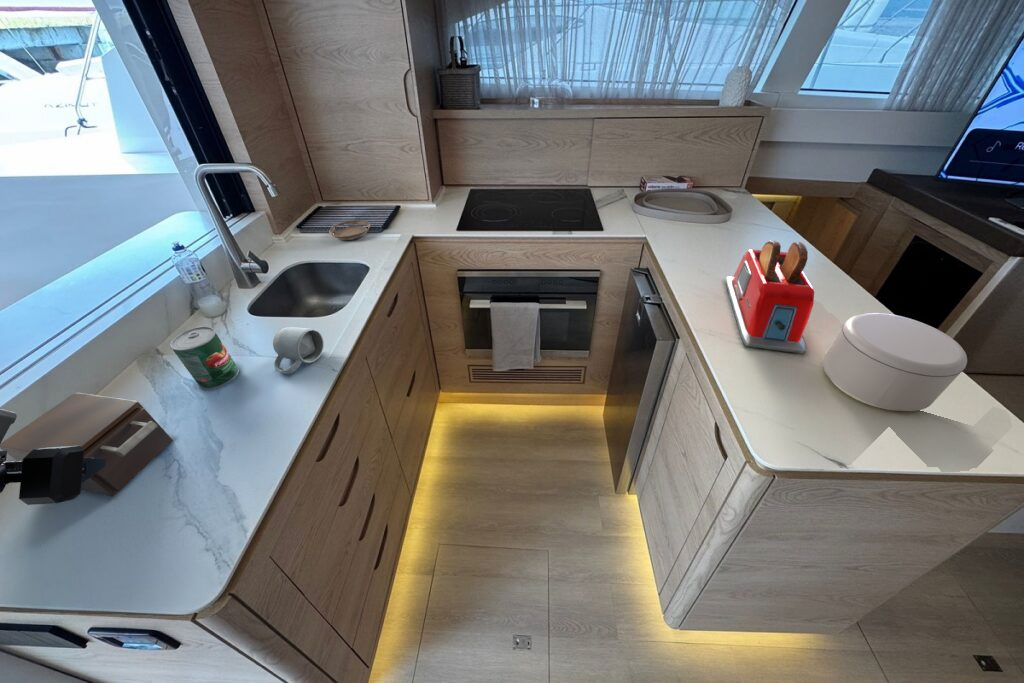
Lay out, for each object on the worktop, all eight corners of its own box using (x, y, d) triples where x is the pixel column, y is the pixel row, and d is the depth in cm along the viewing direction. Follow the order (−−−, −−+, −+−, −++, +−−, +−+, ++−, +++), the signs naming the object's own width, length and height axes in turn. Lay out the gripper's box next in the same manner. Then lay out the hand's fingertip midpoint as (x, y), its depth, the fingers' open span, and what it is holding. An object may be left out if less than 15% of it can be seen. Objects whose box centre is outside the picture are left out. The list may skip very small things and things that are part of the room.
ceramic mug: (300, 343, 96) (287, 318, 91) (328, 348, 94) (317, 323, 89) (268, 373, 88) (252, 346, 83) (298, 379, 86) (284, 352, 81)
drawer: (193, 443, 72) (165, 411, 66) (141, 496, 64) (105, 464, 58) (118, 431, 74) (85, 399, 69) (59, 480, 67) (17, 448, 61)
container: (798, 362, 85) (823, 318, 78) (865, 347, 88) (895, 303, 81) (878, 425, 71) (917, 379, 64) (954, 405, 74) (1000, 358, 67)
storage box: (173, 440, 74) (138, 401, 67) (113, 496, 65) (66, 458, 58) (114, 430, 76) (75, 392, 69) (49, 484, 67) (-4, 445, 60)
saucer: (333, 245, 140) (330, 238, 139) (329, 231, 151) (327, 224, 149) (374, 237, 145) (373, 230, 143) (368, 224, 156) (367, 217, 154)
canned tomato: (239, 380, 86) (214, 341, 79) (197, 394, 83) (167, 355, 76) (238, 360, 91) (214, 322, 85) (199, 372, 88) (171, 334, 82)
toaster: (806, 355, 87) (849, 281, 75) (743, 347, 90) (774, 274, 78) (773, 284, 111) (801, 219, 99) (724, 279, 114) (746, 215, 102)
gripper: (0, 406, 39) (144, 401, 55) (-189, 415, 39) (9, 408, 55) (-13, 522, 38) (138, 484, 54) (-208, 532, 38) (0, 491, 53)
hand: (71, 464), depth 54 cm, fingers open, 9 cm apart
